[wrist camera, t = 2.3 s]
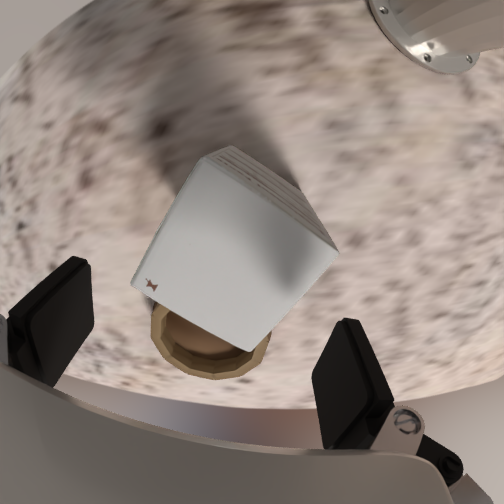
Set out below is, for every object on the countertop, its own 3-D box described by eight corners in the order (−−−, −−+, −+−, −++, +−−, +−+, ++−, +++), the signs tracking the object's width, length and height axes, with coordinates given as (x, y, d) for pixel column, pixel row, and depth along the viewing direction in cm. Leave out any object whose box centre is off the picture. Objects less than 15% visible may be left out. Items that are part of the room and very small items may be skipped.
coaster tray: (161, 253, 26) (148, 270, 23) (286, 282, 27) (289, 303, 24) (154, 345, 31) (146, 365, 28) (255, 368, 32) (255, 390, 29)
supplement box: (254, 257, 26) (248, 358, 15) (184, 212, 25) (123, 285, 13) (305, 192, 24) (345, 255, 12) (232, 140, 22) (198, 151, 11)
